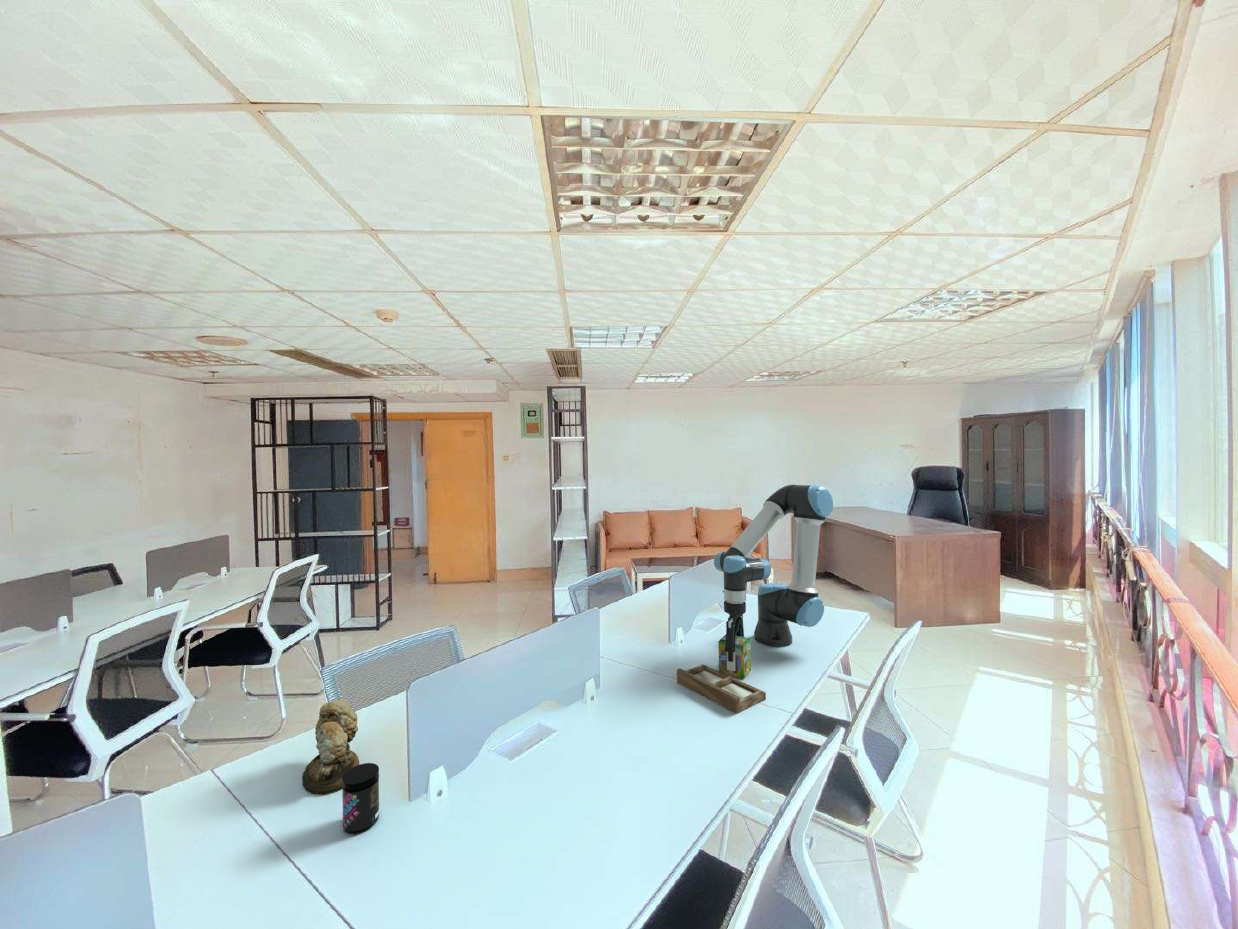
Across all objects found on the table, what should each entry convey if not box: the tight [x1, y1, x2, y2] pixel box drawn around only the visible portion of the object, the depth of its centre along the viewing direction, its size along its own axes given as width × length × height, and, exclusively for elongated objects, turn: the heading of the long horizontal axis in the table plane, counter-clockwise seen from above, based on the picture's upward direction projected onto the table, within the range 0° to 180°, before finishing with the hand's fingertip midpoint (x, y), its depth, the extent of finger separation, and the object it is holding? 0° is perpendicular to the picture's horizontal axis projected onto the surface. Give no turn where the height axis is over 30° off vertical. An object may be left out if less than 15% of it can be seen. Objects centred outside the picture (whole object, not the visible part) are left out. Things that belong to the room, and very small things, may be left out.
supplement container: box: [341, 762, 380, 835], centre depth 99 cm, size 7×7×10 cm
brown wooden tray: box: [676, 664, 767, 715], centre depth 154 cm, size 14×25×4 cm, turn 37°
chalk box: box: [717, 634, 752, 680], centre depth 168 cm, size 9×9×15 cm
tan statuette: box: [301, 699, 360, 796], centre depth 115 cm, size 18×12×17 cm, turn 36°
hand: (735, 664), depth 168 cm, fingers closed on chalk box, 9 cm apart
